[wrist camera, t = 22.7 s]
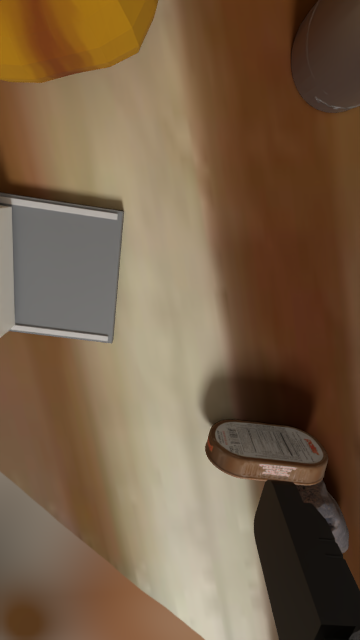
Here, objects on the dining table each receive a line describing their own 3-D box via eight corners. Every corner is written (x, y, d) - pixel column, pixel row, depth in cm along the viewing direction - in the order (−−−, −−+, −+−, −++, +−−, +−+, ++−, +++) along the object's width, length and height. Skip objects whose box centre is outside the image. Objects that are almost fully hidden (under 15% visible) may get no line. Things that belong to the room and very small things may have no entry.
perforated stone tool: (346, 518, 53) (371, 564, 46) (315, 531, 54) (335, 578, 47) (310, 453, 48) (331, 494, 42) (276, 468, 49) (292, 511, 43)
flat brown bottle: (202, 431, 46) (208, 480, 38) (206, 411, 45) (213, 458, 37) (307, 442, 47) (335, 492, 40) (314, 424, 46) (343, 472, 38)
